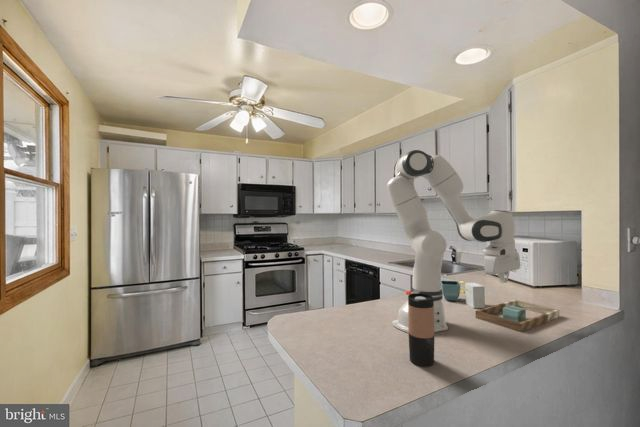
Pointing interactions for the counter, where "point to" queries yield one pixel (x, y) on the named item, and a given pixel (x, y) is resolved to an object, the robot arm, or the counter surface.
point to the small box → (475, 295)
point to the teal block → (514, 313)
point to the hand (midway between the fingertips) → (503, 282)
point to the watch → (463, 283)
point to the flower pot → (450, 290)
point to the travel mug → (421, 329)
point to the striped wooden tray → (522, 326)
